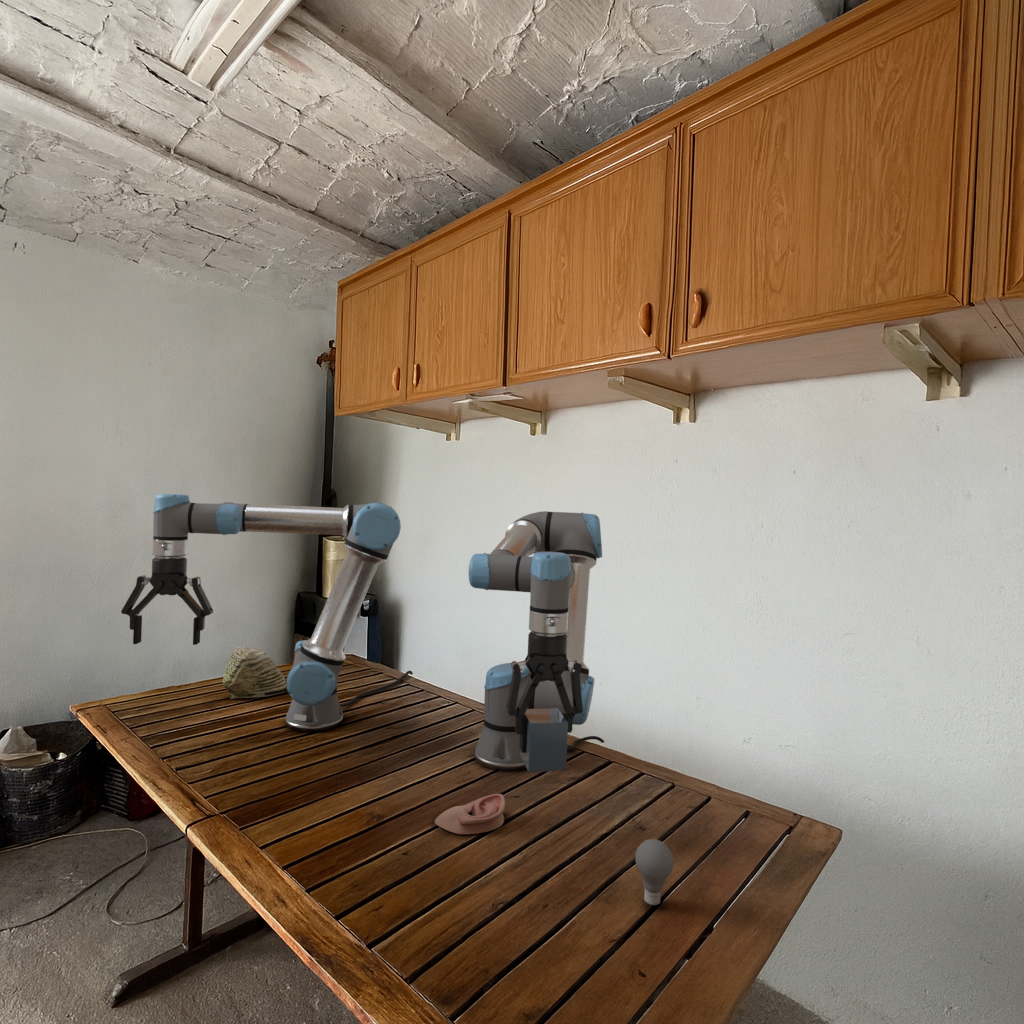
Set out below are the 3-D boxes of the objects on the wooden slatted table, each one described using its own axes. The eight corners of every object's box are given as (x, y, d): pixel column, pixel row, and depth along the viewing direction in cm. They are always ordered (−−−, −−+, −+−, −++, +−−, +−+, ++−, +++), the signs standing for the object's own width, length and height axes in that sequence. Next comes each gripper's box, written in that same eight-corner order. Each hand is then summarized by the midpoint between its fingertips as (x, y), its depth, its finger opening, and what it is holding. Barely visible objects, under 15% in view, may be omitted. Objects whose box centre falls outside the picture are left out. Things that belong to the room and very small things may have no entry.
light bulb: (629, 891, 105) (631, 831, 105) (664, 890, 106) (667, 831, 106) (639, 914, 99) (642, 851, 99) (676, 914, 100) (679, 851, 100)
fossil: (218, 695, 195) (220, 647, 195) (278, 685, 208) (279, 640, 207) (228, 703, 189) (230, 653, 188) (289, 692, 201) (290, 645, 201)
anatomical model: (430, 809, 122) (447, 784, 133) (429, 830, 122) (447, 802, 133) (497, 819, 119) (509, 792, 130) (496, 840, 119) (508, 811, 131)
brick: (528, 772, 119) (530, 723, 118) (520, 755, 126) (522, 709, 126) (566, 770, 120) (568, 722, 120) (555, 753, 128) (557, 708, 127)
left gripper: (107, 556, 149) (104, 646, 150) (218, 559, 153) (215, 647, 153) (122, 553, 157) (119, 639, 157) (228, 557, 160) (225, 640, 161)
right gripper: (499, 637, 117) (494, 759, 118) (604, 636, 121) (598, 755, 121) (493, 628, 124) (488, 743, 125) (592, 628, 128) (587, 739, 129)
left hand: (166, 643), depth 155 cm, fingers open, 13 cm apart
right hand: (542, 748), depth 123 cm, fingers closed on brick, 7 cm apart
